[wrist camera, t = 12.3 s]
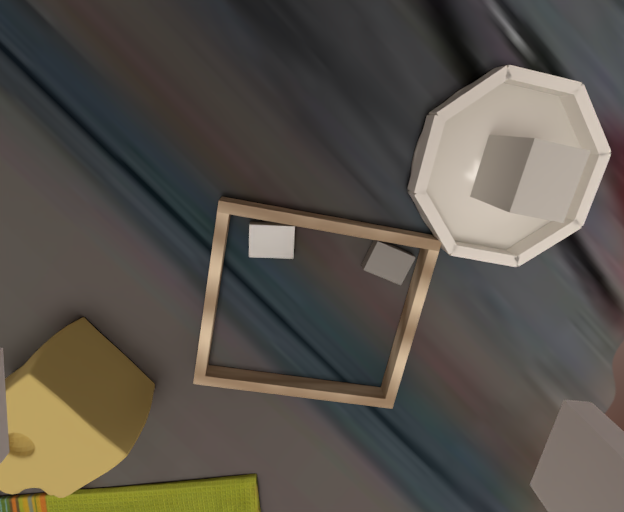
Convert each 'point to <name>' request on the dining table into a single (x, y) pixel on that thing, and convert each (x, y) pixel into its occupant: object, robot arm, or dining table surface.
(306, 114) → the dining table surface
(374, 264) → the grey rectangular block
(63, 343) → the cheese
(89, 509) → the dish towel
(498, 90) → the bowl
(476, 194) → the pale grey block
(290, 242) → the light grey block
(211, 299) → the wooden frame
